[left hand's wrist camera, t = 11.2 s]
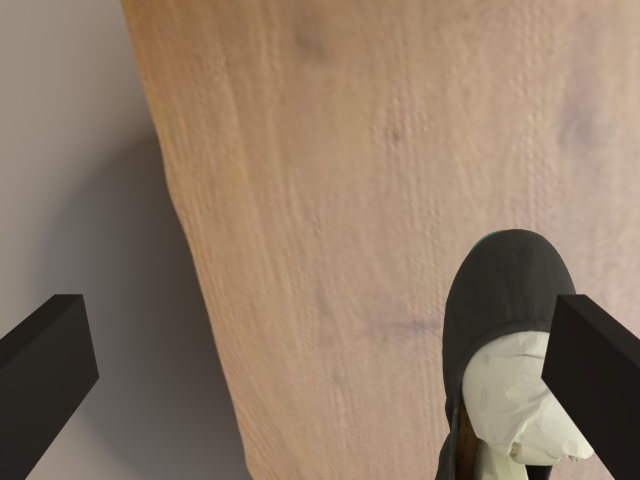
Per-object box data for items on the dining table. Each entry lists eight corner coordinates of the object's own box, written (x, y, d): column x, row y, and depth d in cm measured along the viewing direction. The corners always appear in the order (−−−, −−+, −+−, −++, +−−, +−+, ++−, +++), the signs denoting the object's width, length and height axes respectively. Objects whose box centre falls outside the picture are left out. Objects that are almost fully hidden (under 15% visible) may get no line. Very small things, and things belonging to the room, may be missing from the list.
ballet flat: (583, 220, 26) (688, 279, 19) (530, 522, 34) (588, 651, 27) (441, 222, 27) (486, 282, 19) (422, 522, 35) (448, 650, 27)
